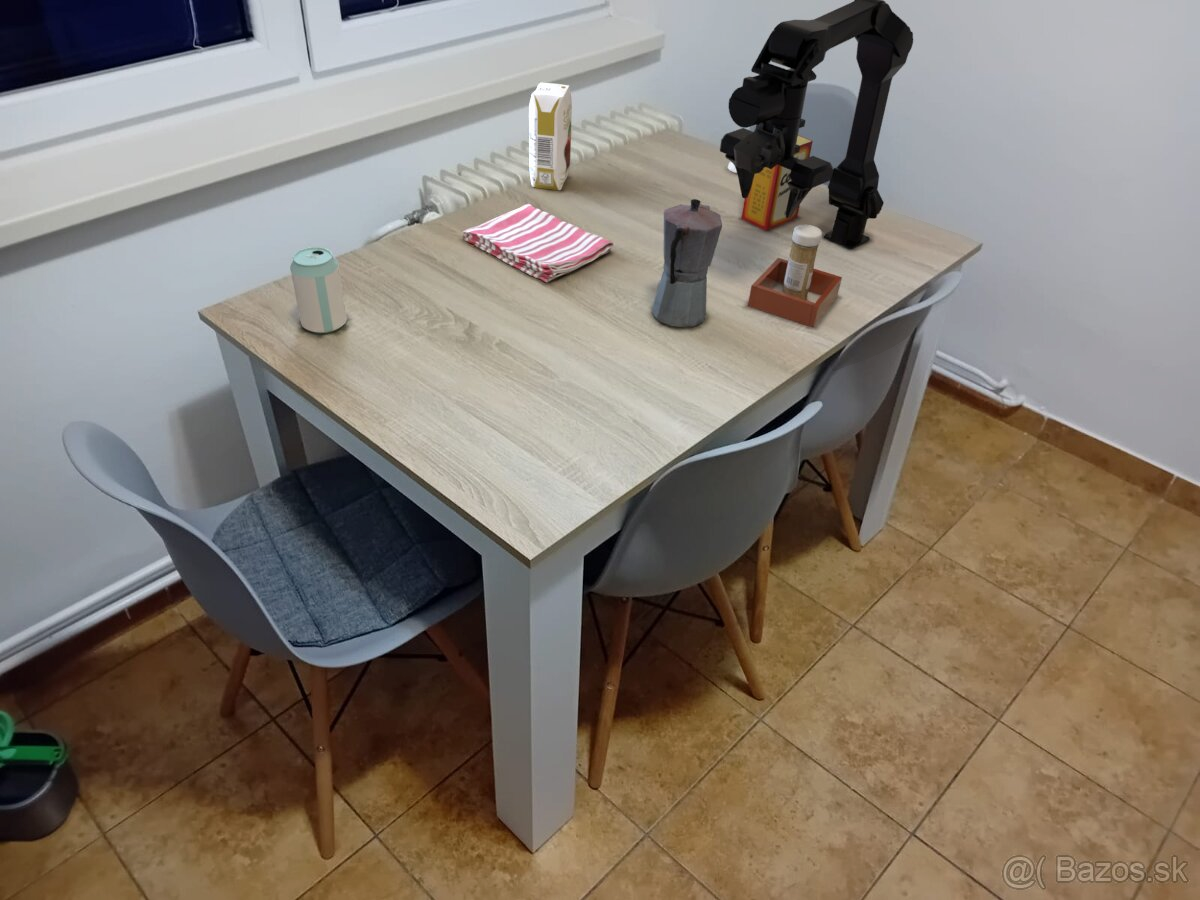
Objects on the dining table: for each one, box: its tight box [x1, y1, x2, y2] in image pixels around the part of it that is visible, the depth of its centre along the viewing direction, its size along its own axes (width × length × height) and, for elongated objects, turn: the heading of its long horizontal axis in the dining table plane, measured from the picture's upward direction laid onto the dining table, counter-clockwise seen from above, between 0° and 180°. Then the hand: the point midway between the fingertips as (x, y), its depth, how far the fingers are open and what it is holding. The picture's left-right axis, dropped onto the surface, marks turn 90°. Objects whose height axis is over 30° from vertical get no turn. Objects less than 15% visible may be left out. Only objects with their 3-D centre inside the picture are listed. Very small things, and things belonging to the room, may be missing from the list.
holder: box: [747, 257, 843, 328], centre depth 155 cm, size 12×12×4 cm
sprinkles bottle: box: [781, 224, 823, 301], centre depth 152 cm, size 5×5×13 cm
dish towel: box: [461, 203, 615, 283], centre depth 166 cm, size 17×23×4 cm
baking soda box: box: [740, 134, 814, 232], centre depth 175 cm, size 10×6×16 cm
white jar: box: [727, 160, 737, 174], centre depth 197 cm, size 5×3×5 cm
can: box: [289, 246, 348, 334], centre depth 140 cm, size 7×7×12 cm
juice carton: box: [528, 81, 573, 191], centre depth 182 cm, size 8×9×19 cm
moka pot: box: [651, 198, 723, 328], centre depth 144 cm, size 10×15×20 cm, turn 161°
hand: (766, 207), depth 150 cm, fingers open, 9 cm apart
